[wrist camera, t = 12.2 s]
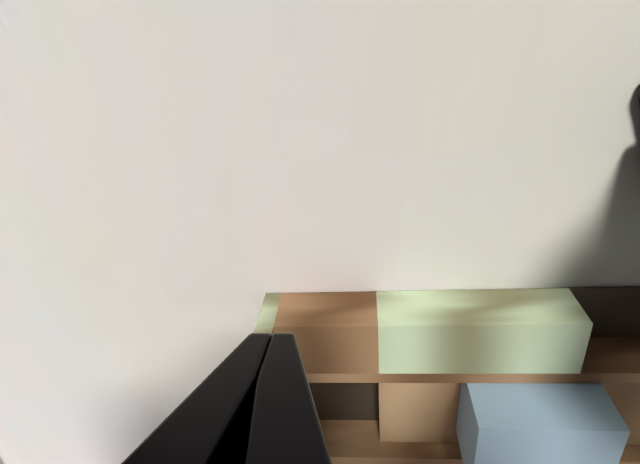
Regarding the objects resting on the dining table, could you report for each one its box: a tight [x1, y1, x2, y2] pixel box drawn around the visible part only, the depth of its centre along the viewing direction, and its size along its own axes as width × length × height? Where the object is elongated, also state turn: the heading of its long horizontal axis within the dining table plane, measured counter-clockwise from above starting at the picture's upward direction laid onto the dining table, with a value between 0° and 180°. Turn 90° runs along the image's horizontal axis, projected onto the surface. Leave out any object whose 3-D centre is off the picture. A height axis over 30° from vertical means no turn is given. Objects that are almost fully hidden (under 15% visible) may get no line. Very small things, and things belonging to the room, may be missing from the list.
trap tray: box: [254, 287, 640, 464], centre depth 23 cm, size 30×12×4 cm, turn 94°
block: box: [456, 383, 631, 464], centre depth 22 cm, size 6×4×4 cm
